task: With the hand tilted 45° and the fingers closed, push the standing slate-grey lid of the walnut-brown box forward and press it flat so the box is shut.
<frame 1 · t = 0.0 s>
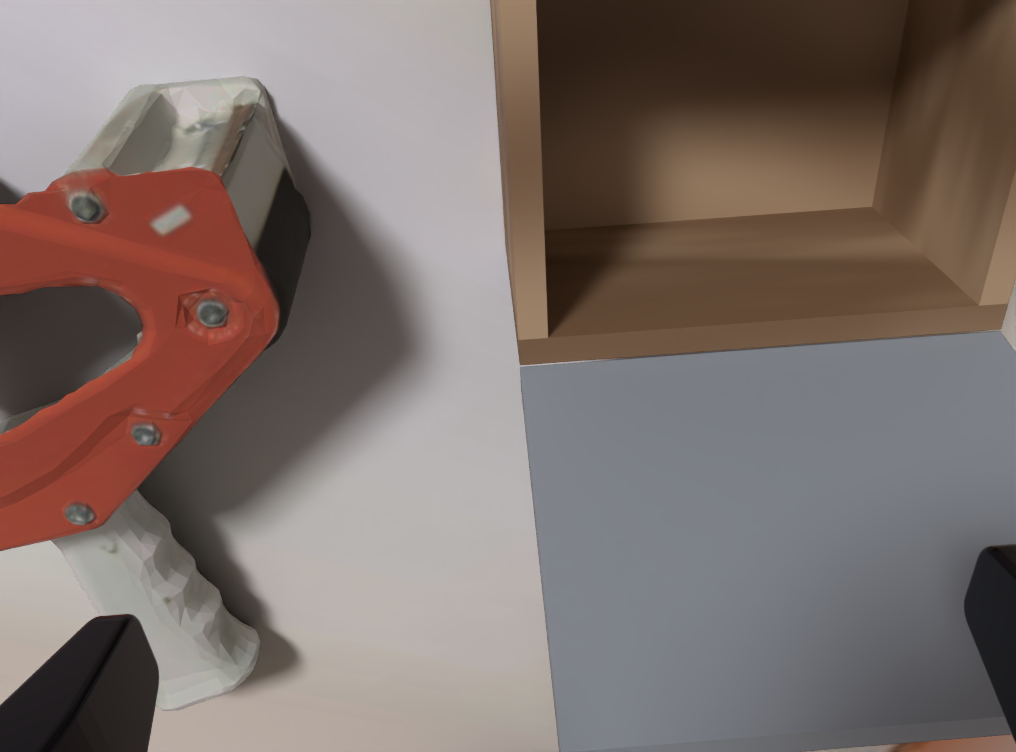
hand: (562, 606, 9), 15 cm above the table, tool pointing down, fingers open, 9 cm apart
box: (703, 76, 21), on the table
lid: (821, 510, 15), point 10 cm above the table, hinge at 100.0°
tape dispenser: (94, 365, 25), on the table
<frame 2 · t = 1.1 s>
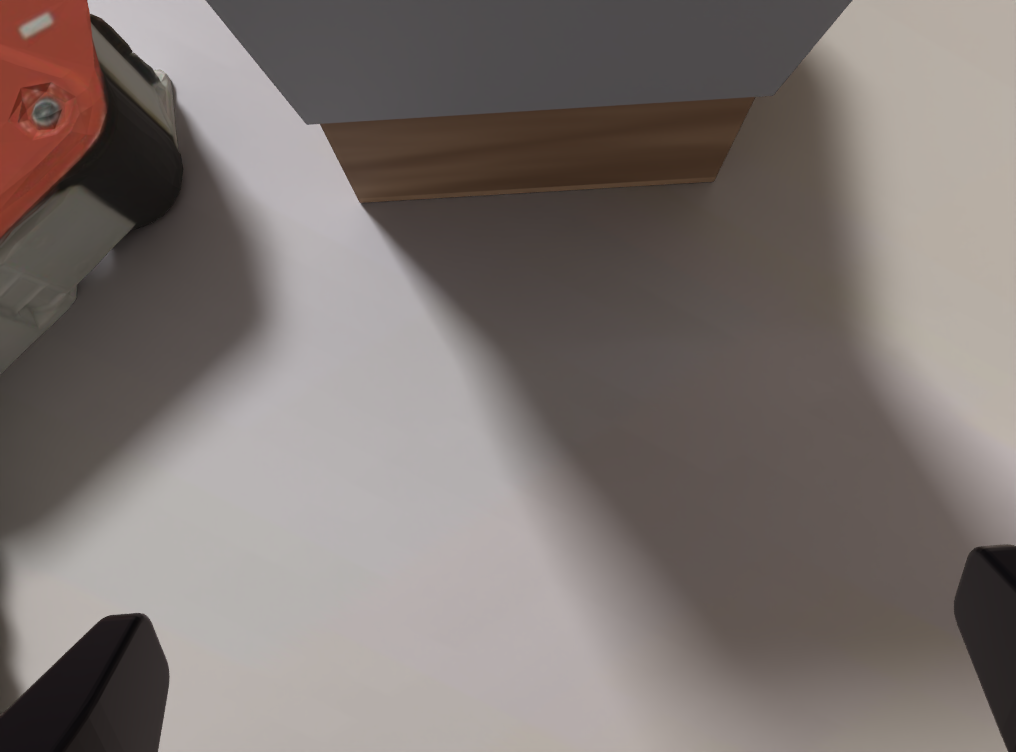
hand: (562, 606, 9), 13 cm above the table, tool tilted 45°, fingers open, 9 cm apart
box: (528, 63, 25), on the table
lid: (541, 15, 15), point 10 cm above the table, hinge at 100.0°
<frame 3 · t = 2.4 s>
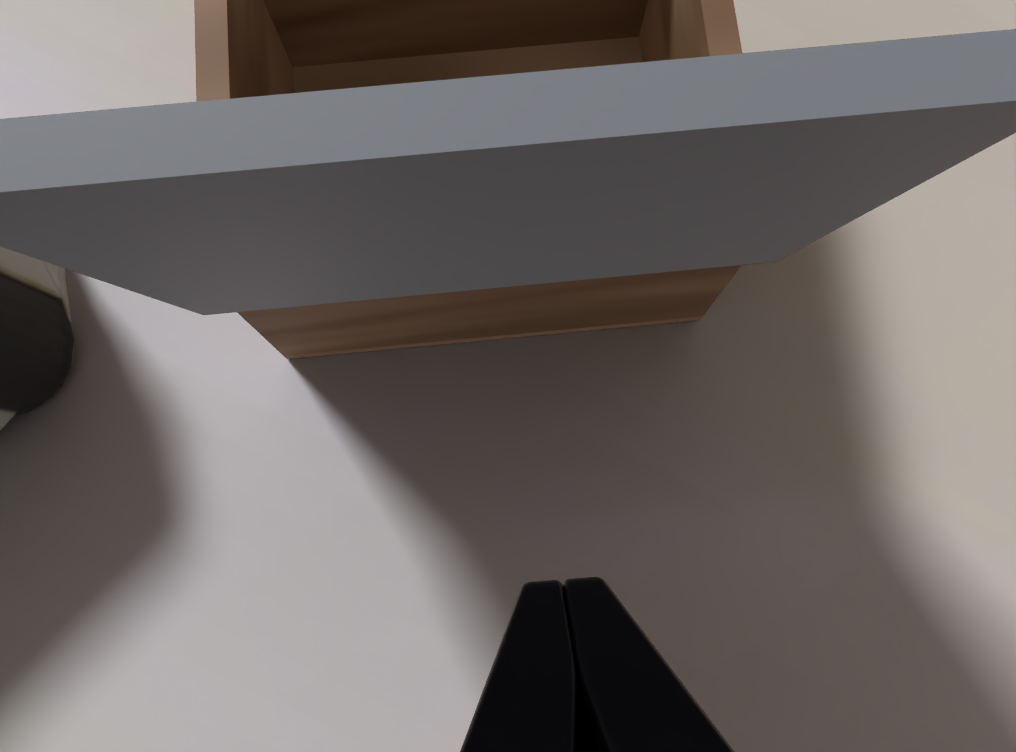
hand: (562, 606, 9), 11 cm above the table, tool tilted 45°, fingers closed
box: (479, 186, 22), on the table
lid: (488, 220, 11), point 10 cm above the table, hinge at 100.0°
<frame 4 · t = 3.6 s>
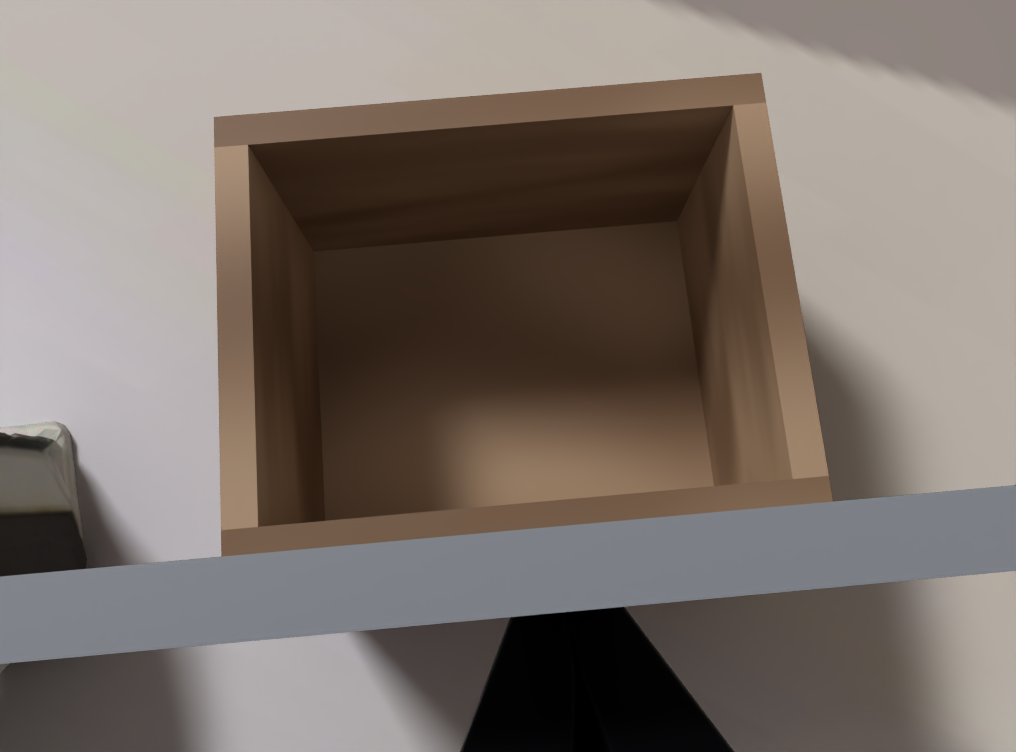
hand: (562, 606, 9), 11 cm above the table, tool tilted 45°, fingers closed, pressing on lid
box: (508, 378, 21), on the table
lid: (542, 563, 10), point 10 cm above the table, hinge at 90.6°, touching gripper
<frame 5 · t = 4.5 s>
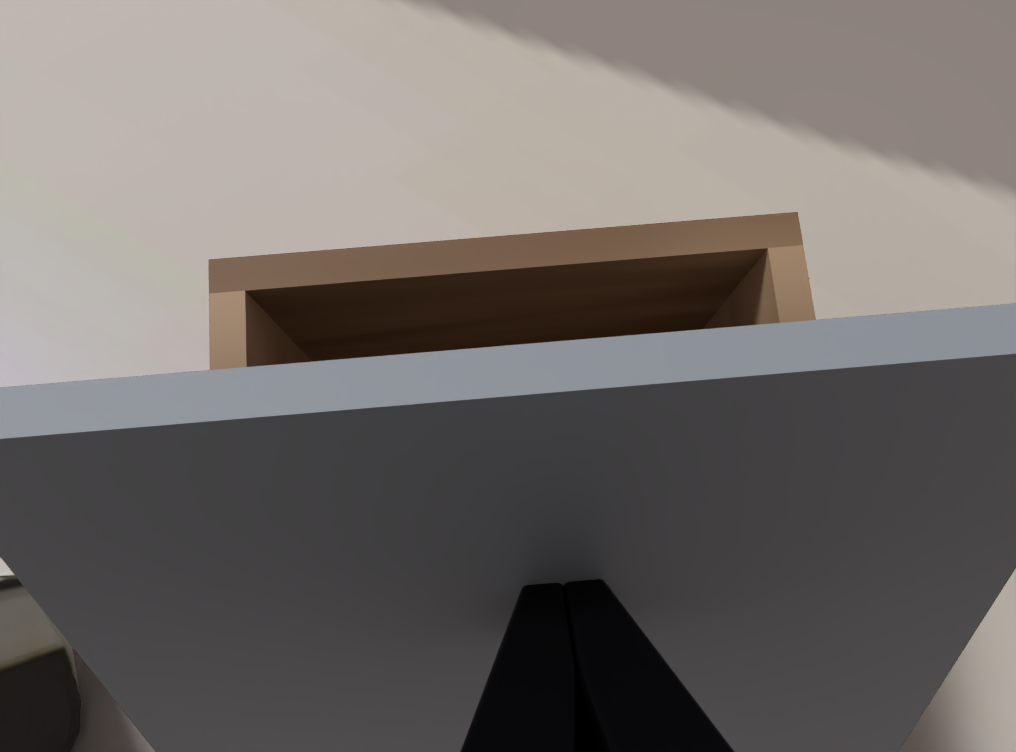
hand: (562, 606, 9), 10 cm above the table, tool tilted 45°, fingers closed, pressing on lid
box: (521, 500, 20), on the table
lid: (547, 620, 10), point 10 cm above the table, hinge at 56.7°, touching gripper
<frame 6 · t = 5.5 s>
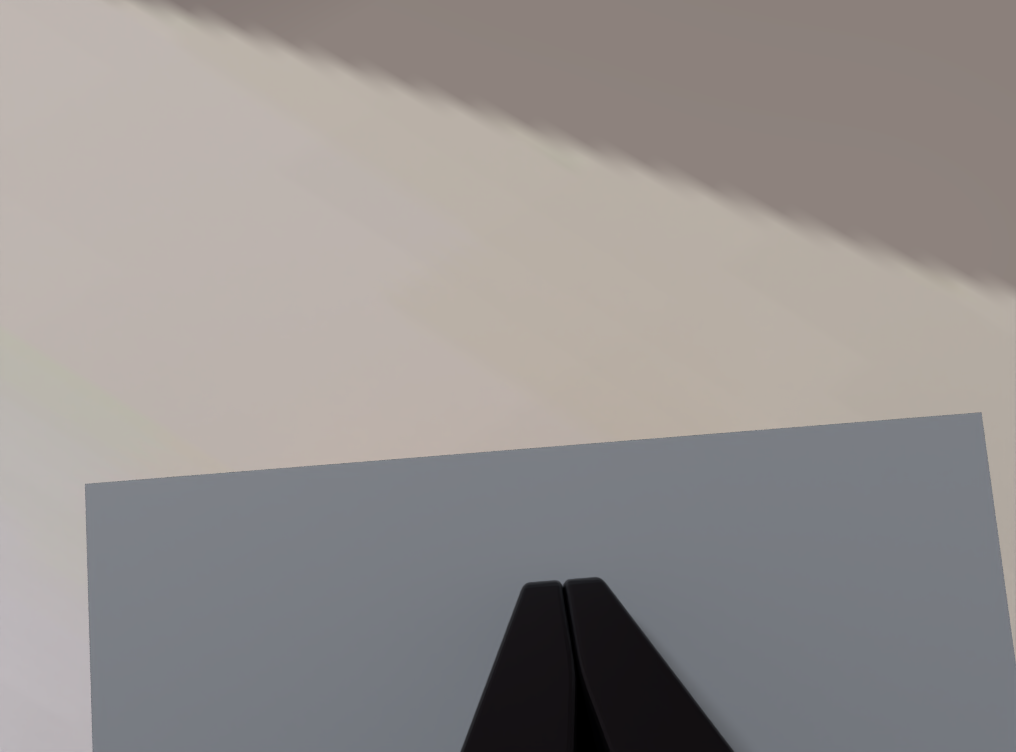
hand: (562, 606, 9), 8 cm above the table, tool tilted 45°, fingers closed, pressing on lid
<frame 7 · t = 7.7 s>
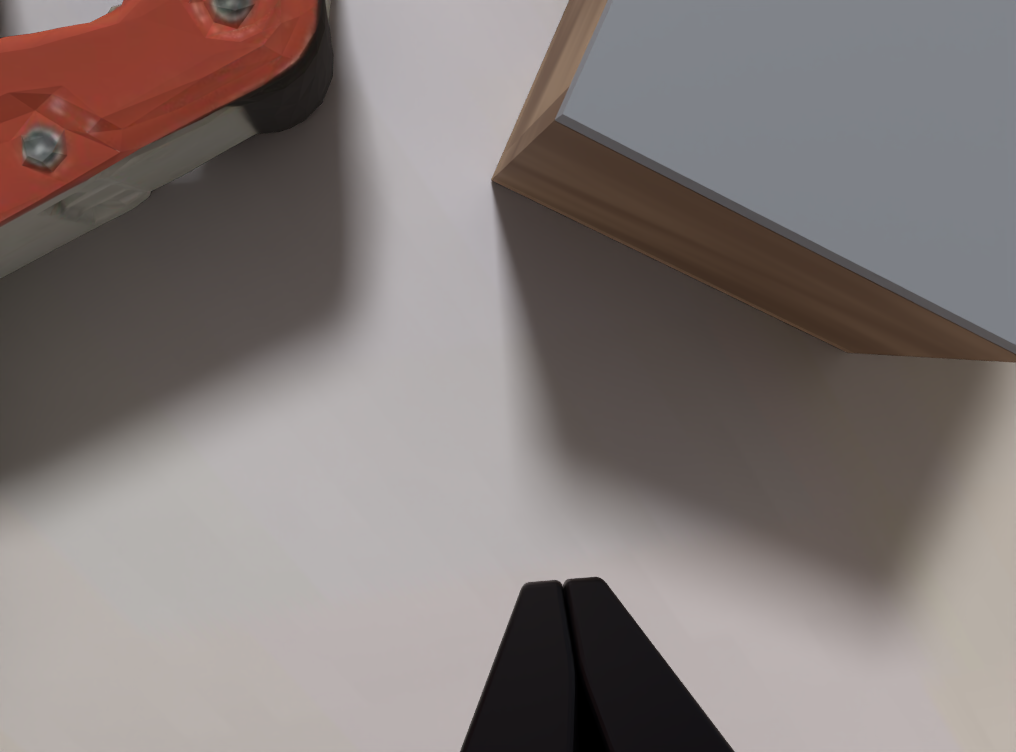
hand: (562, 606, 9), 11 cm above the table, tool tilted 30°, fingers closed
box: (742, 119, 21), on the table
lid: (920, 30, 15), point 7 cm above the table, hinge at 4.3°
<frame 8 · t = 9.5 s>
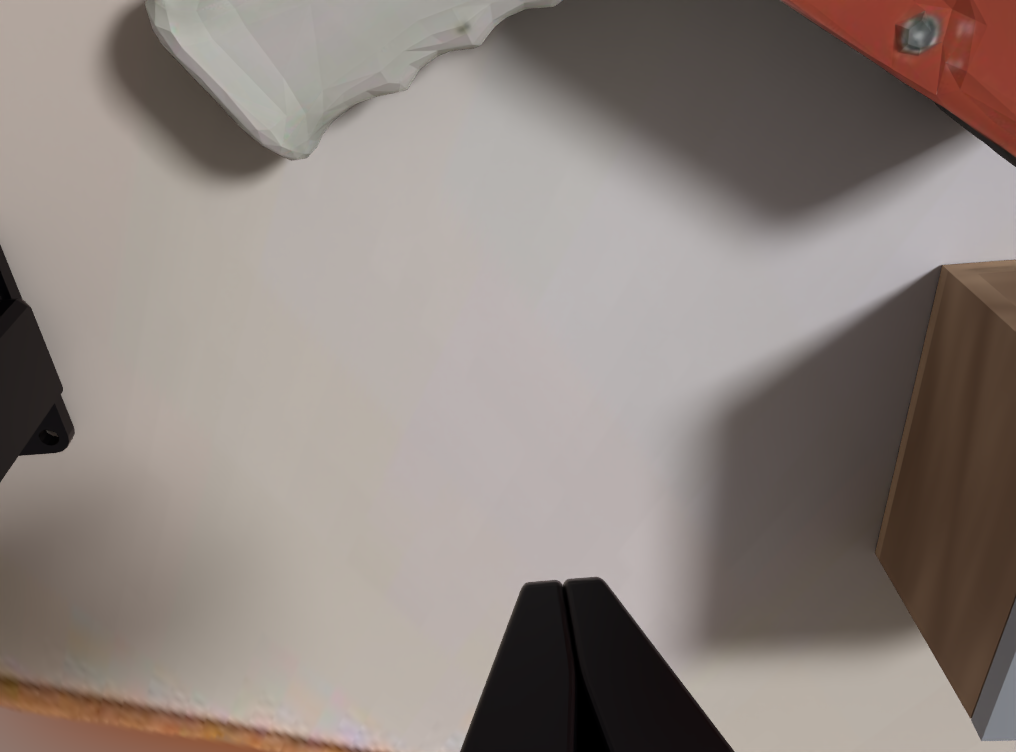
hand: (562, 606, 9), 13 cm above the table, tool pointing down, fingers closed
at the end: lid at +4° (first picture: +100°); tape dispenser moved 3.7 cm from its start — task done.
